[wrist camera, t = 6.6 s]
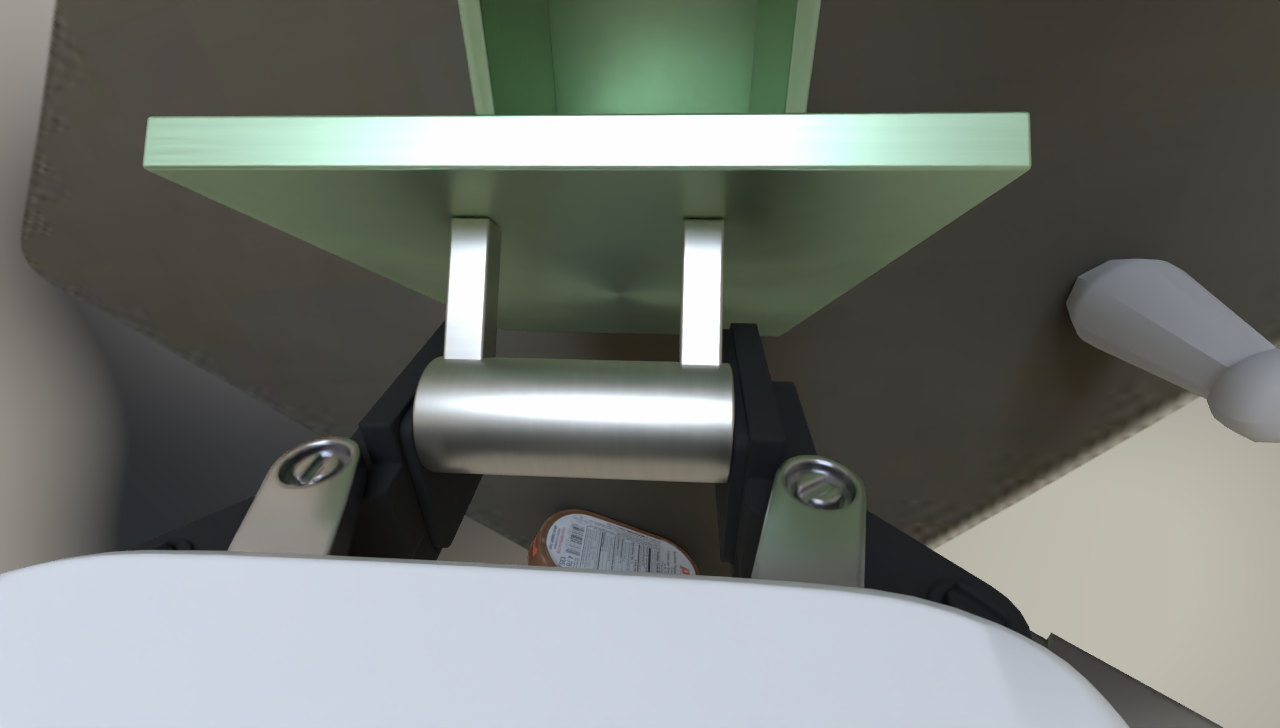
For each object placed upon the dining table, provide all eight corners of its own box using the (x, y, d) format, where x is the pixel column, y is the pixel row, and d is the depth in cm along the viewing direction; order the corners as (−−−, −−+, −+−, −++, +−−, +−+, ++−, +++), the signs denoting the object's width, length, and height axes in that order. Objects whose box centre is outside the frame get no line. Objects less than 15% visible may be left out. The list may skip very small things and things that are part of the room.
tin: (539, 513, 48) (514, 597, 41) (550, 490, 46) (525, 573, 39) (691, 566, 50) (692, 654, 43) (706, 545, 49) (710, 634, 41)
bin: (528, -75, 26) (433, -145, 16) (780, -82, 26) (843, -160, 16) (558, 236, 34) (506, 317, 24) (749, 237, 34) (778, 322, 24)
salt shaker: (1092, 235, 32) (1307, 339, 21) (1178, 258, 33) (1435, 372, 21) (1032, 320, 35) (1193, 449, 24) (1112, 340, 36) (1307, 476, 24)
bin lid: (145, 114, 8) (106, 481, 7) (1032, 109, 7) (1043, 520, 7) (504, 313, 24) (498, 429, 24) (780, 318, 23) (779, 439, 23)
